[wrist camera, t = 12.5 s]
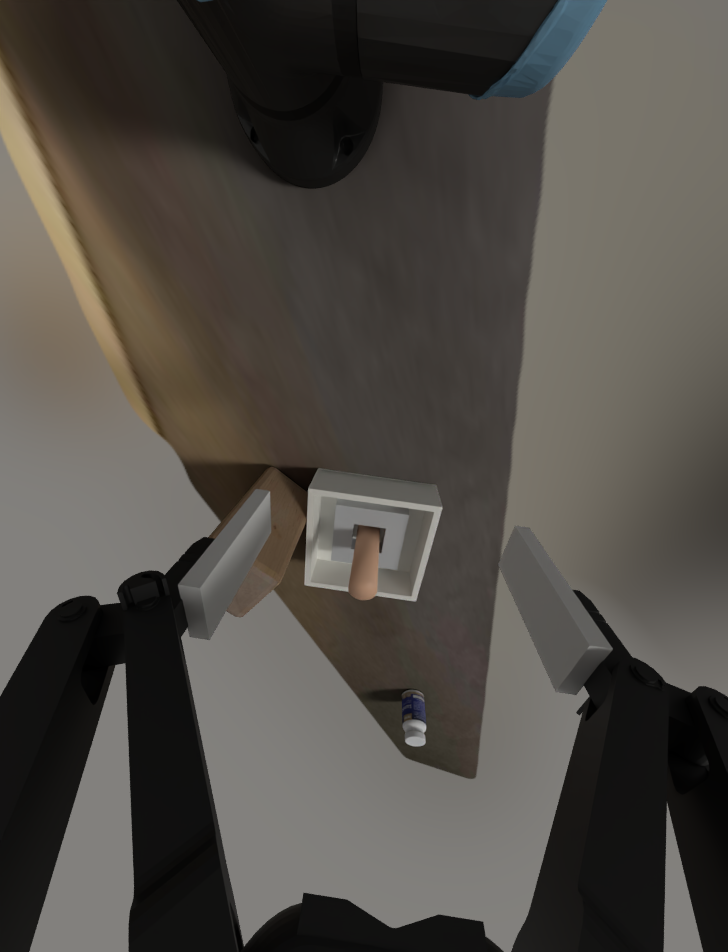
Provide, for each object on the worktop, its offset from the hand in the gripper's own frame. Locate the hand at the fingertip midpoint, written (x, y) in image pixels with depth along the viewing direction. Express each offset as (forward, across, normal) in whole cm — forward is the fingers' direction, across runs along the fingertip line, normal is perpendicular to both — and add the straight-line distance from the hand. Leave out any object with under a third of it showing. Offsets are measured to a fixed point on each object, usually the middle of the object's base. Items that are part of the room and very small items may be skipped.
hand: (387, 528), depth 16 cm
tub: (+32, 0, -23) cm, 39 cm away
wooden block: (+32, -17, -20) cm, 41 cm away
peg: (+30, 0, -23) cm, 38 cm away
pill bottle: (+32, +18, -75) cm, 83 cm away
